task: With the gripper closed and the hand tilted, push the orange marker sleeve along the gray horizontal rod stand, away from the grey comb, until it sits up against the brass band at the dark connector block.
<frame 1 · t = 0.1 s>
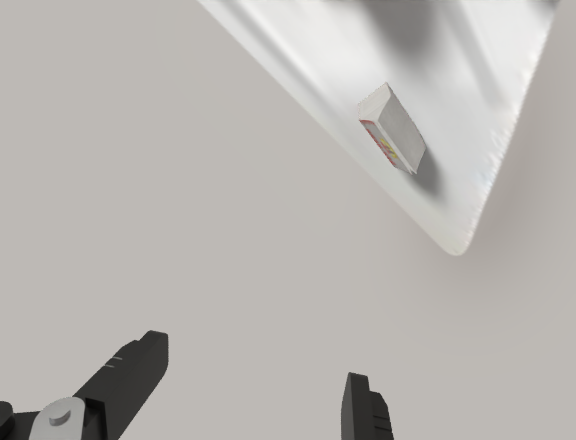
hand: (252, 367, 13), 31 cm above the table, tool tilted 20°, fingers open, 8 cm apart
milk carton: (387, 115, 35), on the table
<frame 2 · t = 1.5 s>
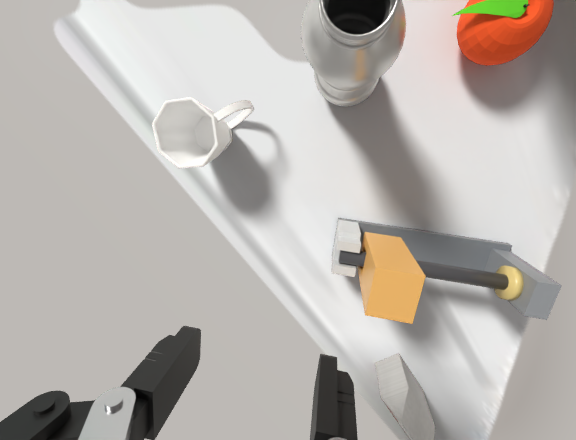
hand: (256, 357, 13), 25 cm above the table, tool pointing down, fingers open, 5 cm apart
cup: (226, 128, 36), on the table
gray horizontal rod stand: (415, 249, 36), on the table
plastic bottle: (345, 77, 33), on the table
sleeve: (385, 271, 29), point 8 cm above the table, slide at 0.0 cm
milk carton: (398, 374, 42), on the table
clementine: (476, 34, 30), on the table
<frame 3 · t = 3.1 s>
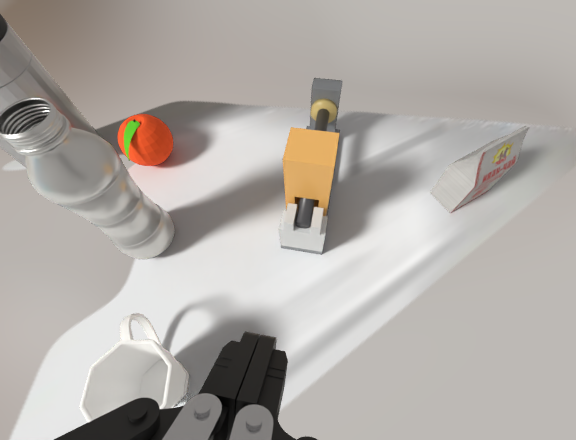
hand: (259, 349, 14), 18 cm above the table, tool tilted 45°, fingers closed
cup: (165, 368, 30), on the table
gray horizontal rod stand: (313, 184, 40), on the table
plastic bottle: (154, 240, 37), on the table
sleeve: (309, 177, 31), point 8 cm above the table, slide at 0.0 cm
milk carton: (458, 192, 39), on the table
clementine: (156, 160, 44), on the table
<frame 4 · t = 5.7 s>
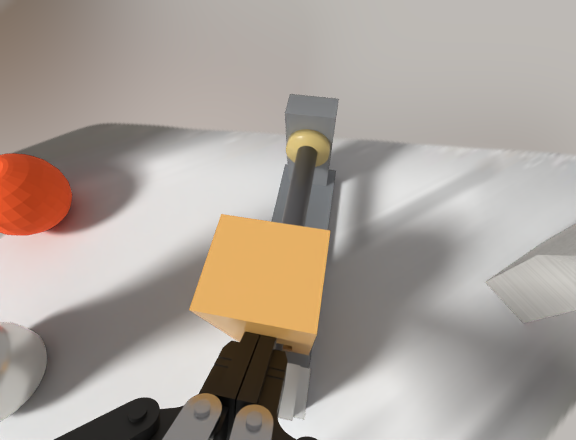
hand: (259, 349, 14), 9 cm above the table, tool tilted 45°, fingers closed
gray horizontal rod stand: (292, 265, 25), on the table
plastic bottle: (16, 375, 22), on the table
sleeve: (273, 298, 15), point 8 cm above the table, slide at 0.2 cm, touching gripper
milk carton: (531, 281, 24), on the table
clementine: (50, 220, 28), on the table
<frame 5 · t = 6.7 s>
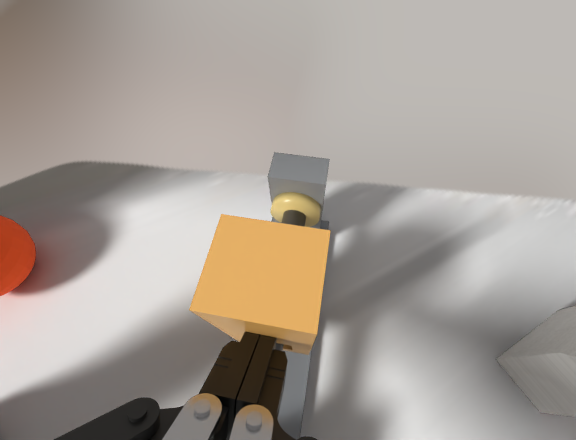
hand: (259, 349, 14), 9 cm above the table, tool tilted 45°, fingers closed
gray horizontal rod stand: (279, 336, 22), on the table
sleeve: (273, 298, 15), point 8 cm above the table, slide at 5.9 cm, touching gripper
milk carton: (547, 357, 21), on the table
clementine: (13, 278, 25), on the table
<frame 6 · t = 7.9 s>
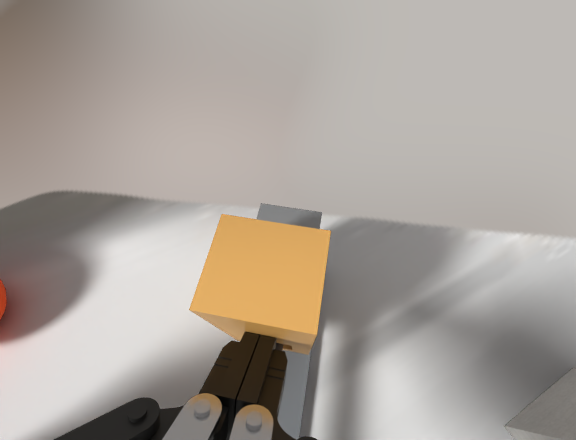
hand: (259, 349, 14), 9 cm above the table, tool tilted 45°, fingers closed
gray horizontal rod stand: (267, 396, 20), on the table
sleeve: (273, 298, 15), point 8 cm above the table, slide at 9.9 cm, touching gripper
milk carton: (561, 424, 19), on the table
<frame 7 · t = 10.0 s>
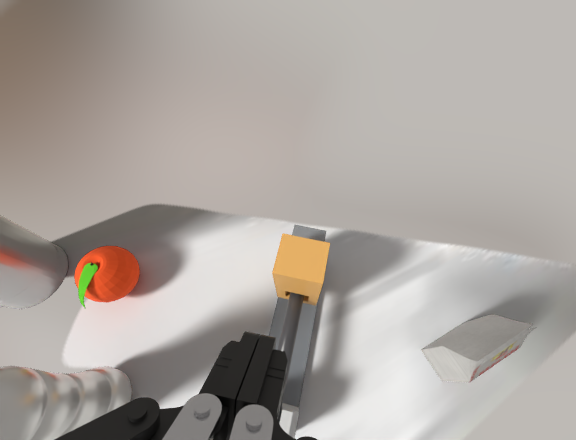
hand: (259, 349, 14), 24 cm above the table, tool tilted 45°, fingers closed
gray horizontal rod stand: (291, 330, 36), on the table
plastic bottle: (110, 399, 34), on the table
sleeve: (300, 273, 31), point 8 cm above the table, slide at 9.9 cm
milk carton: (452, 350, 35), on the table
clementine: (122, 285, 40), on the table
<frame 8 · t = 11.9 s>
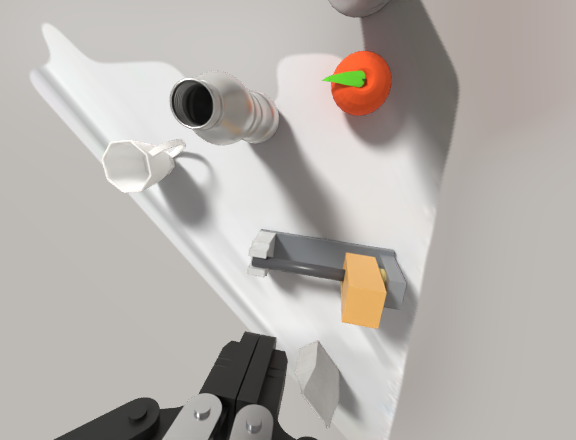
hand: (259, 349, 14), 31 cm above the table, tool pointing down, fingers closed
cup: (169, 157, 45), on the table
gray horizontal rod stand: (323, 254, 45), on the table
plastic bottle: (259, 118, 41), on the table
sleeve: (360, 286, 37), point 8 cm above the table, slide at 9.9 cm
milk carton: (319, 358, 51), on the table
clementine: (354, 88, 38), on the table
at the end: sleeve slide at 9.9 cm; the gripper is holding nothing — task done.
